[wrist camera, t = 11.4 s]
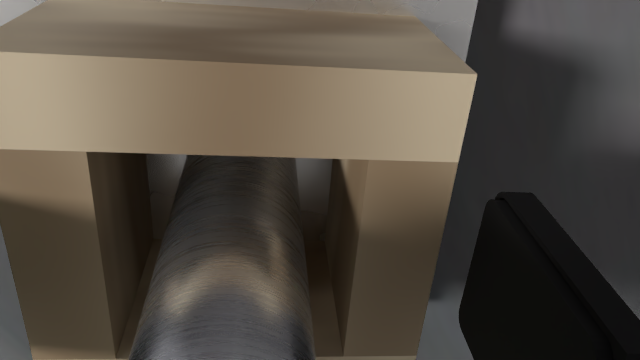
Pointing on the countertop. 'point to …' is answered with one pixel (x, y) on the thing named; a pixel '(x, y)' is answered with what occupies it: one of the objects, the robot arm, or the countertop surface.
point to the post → (246, 225)
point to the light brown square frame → (226, 140)
